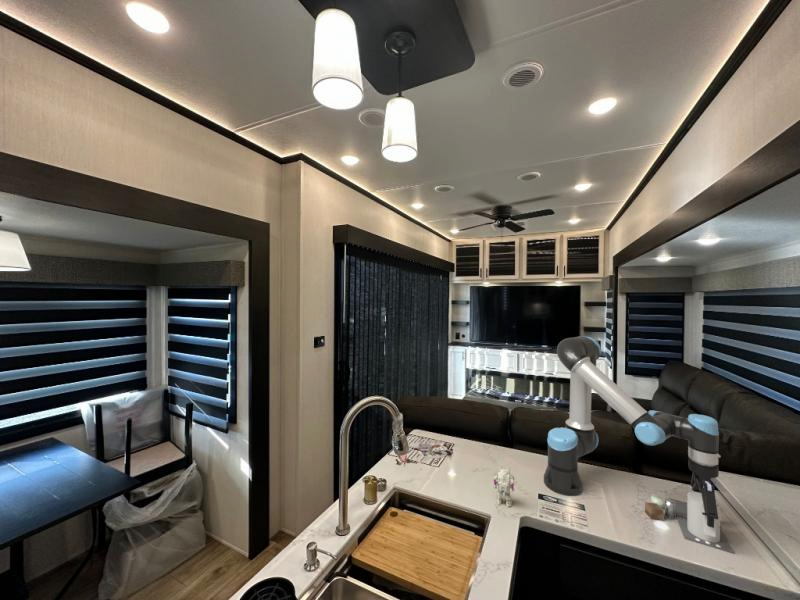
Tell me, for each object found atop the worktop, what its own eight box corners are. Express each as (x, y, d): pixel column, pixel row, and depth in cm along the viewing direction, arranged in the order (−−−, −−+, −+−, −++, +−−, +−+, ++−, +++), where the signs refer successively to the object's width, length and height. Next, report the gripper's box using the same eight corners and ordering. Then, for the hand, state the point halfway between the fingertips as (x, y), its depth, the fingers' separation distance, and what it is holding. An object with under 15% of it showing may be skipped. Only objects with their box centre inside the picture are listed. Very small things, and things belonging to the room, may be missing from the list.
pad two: (676, 516, 117) (676, 514, 117) (669, 498, 127) (669, 497, 127) (720, 528, 111) (720, 527, 111) (709, 509, 121) (709, 507, 121)
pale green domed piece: (662, 511, 120) (662, 503, 120) (649, 505, 123) (649, 497, 123) (665, 507, 122) (665, 499, 122) (652, 501, 125) (653, 494, 125)
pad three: (684, 538, 106) (684, 537, 106) (676, 517, 116) (676, 516, 116) (734, 553, 100) (734, 552, 100) (721, 530, 110) (721, 528, 110)
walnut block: (651, 519, 115) (651, 509, 115) (645, 512, 119) (645, 502, 119) (663, 521, 114) (663, 510, 114) (657, 513, 118) (657, 503, 118)
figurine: (518, 507, 122) (518, 469, 122) (503, 513, 119) (503, 474, 119) (503, 495, 129) (503, 459, 129) (489, 501, 126) (489, 464, 126)
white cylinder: (726, 544, 103) (726, 508, 103) (698, 540, 105) (698, 504, 105) (707, 526, 111) (707, 493, 111) (681, 523, 113) (681, 490, 113)
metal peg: (665, 517, 116) (665, 501, 116) (663, 512, 119) (663, 497, 119) (676, 520, 115) (676, 504, 115) (674, 515, 117) (674, 499, 117)
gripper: (732, 482, 95) (732, 551, 95) (706, 449, 116) (706, 505, 116) (698, 475, 99) (699, 541, 99) (680, 444, 120) (680, 499, 120)
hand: (703, 522), depth 108 cm, fingers open, 13 cm apart
